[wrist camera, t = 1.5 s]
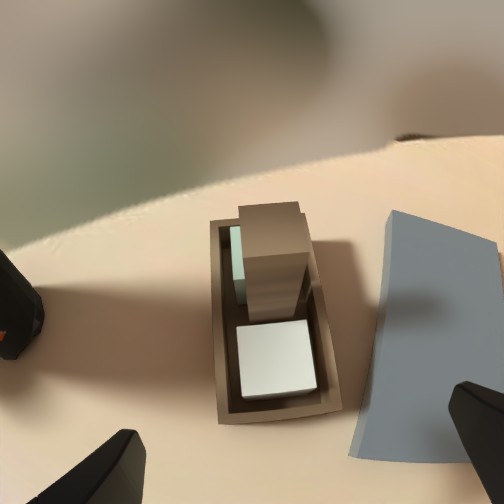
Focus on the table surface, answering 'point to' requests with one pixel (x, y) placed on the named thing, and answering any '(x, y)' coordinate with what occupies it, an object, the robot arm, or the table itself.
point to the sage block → (238, 265)
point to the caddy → (269, 308)
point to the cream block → (275, 360)
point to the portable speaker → (17, 310)
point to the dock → (429, 340)
